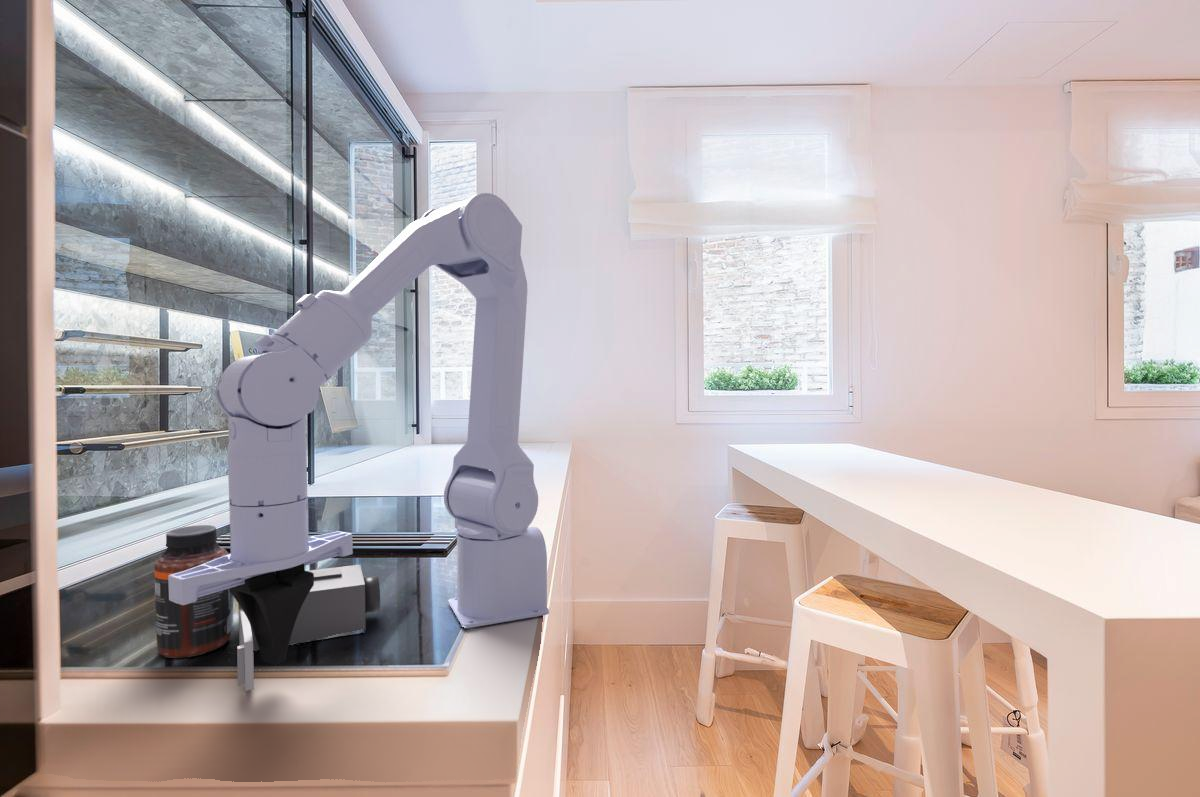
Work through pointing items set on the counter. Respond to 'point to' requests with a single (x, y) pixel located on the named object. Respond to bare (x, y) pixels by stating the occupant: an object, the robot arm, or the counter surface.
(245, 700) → the counter surface
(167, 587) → the supplement bottle
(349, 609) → the block
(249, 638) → the side door
